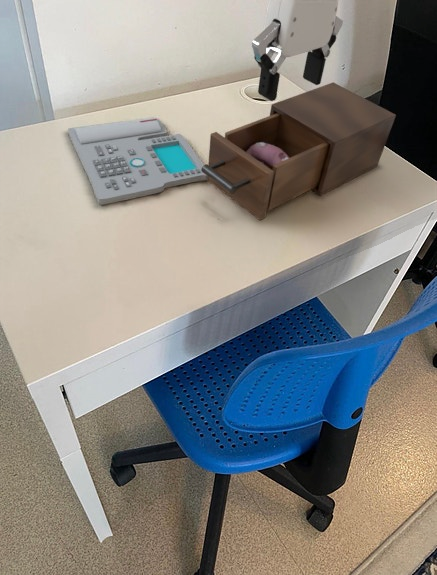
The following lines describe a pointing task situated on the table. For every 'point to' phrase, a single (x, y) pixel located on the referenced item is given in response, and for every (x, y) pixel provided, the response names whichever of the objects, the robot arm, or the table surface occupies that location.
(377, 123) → the cabinet
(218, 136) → the drawer
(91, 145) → the office telephone
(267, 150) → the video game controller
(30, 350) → the table surface
